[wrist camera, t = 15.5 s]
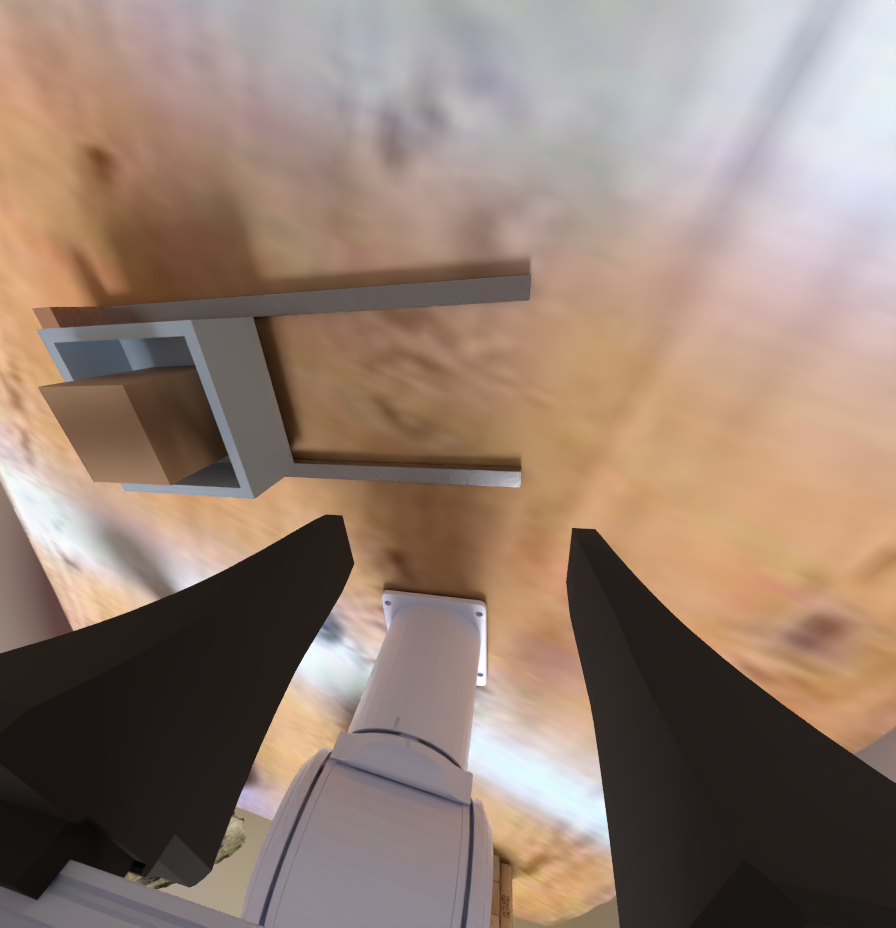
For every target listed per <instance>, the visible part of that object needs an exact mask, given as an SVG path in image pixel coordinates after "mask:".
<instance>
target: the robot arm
mask: <svg viewBox="0 0 896 928" xmlns="http://www.w3.org/2000/svg"><path fill="white" fill-rule="evenodd" d="M353 566H354V561H353V557H352V552H351V548H350V544H349V540H348V536H347V532H346V528H345V524H344V520H343V516H342V515H324V516H322V517H320V518H318V519H316V520H314V521H312V522H310V523H308V524H307V525H305V526H303V527H301V528H299V529H298V530H296V531H294V532H293V533H291V534H289V535H287V536H286V537H284V538H282V539H280V540H279V541H277V542H275V543H273V544H272V545H270V546H268V547H267V548H265V549H263V550H261V551H259V552H258V553H256V554H254V555H252V556H250V557H248V558H246V559H245V560H243V561H241V562H239V563H237V564H235V565H233V566H232V567H230V568H228V569H226V570H224V571H222V572H220V573H218V574H216V575H214V576H212V577H210V578H208V579H206V580H204V581H201V582H199V583H197V584H195V585H193V586H191V587H188V588H186V589H184V590H182V591H179V592H177V593H175V594H172V595H170V596H167V597H165V598H162V599H160V600H157V601H155V602H153V603H150V604H148V605H145V606H143V607H140V608H138V609H135V610H133V611H130V612H127V613H125V614H122V615H119V616H117V617H114V618H111V619H108V620H105V621H103V622H100V623H97V624H94V625H91V626H88V627H85V628H82V629H79V630H76V631H73V632H70V633H67V634H64V635H61V636H58V637H55V638H51V639H48V640H45V641H41V642H38V643H35V644H31V645H28V646H24V647H21V648H17V649H14V650H11V651H7V652H4V653H0V928H490V917H491V904H492V887H493V838H492V829H491V824H490V821H489V819H488V817H487V815H486V813H485V810H484V806H483V804H482V802H481V801H480V800H478V799H475V798H472V797H471V791H472V781H473V774H472V773H470V772H467V765H468V755H469V746H470V737H471V728H472V719H473V710H474V701H475V692H476V685H479V686H484V685H485V684H486V683H487V609H486V604H485V603H484V602H483V601H480V600H471V599H463V598H454V597H445V596H436V595H428V594H419V593H410V592H401V591H393V590H385V591H383V593H382V595H381V599H382V604H383V609H384V614H385V619H386V624H387V630H388V632H387V634H386V637H385V639H384V642H383V644H382V647H381V649H380V652H379V654H378V657H377V659H376V662H375V664H374V667H373V669H372V672H371V674H370V677H369V679H368V682H367V684H366V687H365V689H364V692H363V694H362V697H361V699H360V702H359V704H358V707H357V709H356V712H355V714H354V717H353V719H352V722H351V724H350V727H349V729H348V732H346V731H341V732H340V734H339V736H338V739H337V741H336V743H335V746H334V748H333V751H332V750H329V749H326V748H323V749H321V750H320V751H318V752H317V753H316V754H315V755H314V756H313V757H311V758H310V759H308V760H307V761H306V762H305V763H304V764H303V765H302V767H301V768H300V770H299V771H298V773H297V774H296V776H295V778H294V779H293V781H292V783H291V784H290V786H289V788H288V790H287V792H286V794H285V796H284V798H283V800H282V802H281V804H280V806H279V808H278V810H277V812H276V814H275V817H274V819H273V821H272V823H271V826H270V828H269V830H268V833H267V835H266V838H265V840H264V842H263V845H262V847H261V850H260V853H259V855H258V858H257V860H256V863H255V866H254V869H253V872H252V875H251V878H250V881H249V884H248V887H247V891H246V894H245V899H244V904H243V911H242V915H241V918H237V917H234V916H231V915H229V914H226V913H223V912H220V911H217V910H214V909H211V908H208V907H206V906H202V905H200V904H197V903H194V902H191V901H188V900H185V899H183V898H180V897H177V896H174V895H171V894H168V893H165V892H162V891H160V890H157V889H154V888H151V887H148V886H145V885H142V884H139V883H137V882H134V881H131V880H128V879H125V878H124V877H125V876H126V875H127V873H128V872H129V873H132V874H135V875H138V876H141V877H144V878H145V877H146V876H147V875H148V874H151V875H154V876H157V877H160V878H163V879H166V880H169V881H172V882H175V883H178V884H181V885H184V886H187V887H192V886H194V885H196V884H197V883H199V882H200V881H201V880H203V879H204V878H205V877H206V876H207V875H208V874H209V873H210V872H211V871H212V868H213V865H214V863H215V860H216V857H217V854H218V852H219V849H220V846H221V844H222V841H223V838H224V836H225V833H226V831H227V828H228V825H229V823H230V820H231V817H232V815H233V812H234V810H235V807H236V804H237V802H238V799H239V797H240V794H241V792H242V789H243V787H244V784H245V782H246V780H247V777H248V775H249V772H250V770H251V768H252V765H253V763H254V760H255V758H256V756H257V753H258V751H259V748H260V746H261V744H262V742H263V739H264V737H265V735H266V733H267V731H268V728H269V726H270V724H271V722H272V720H273V717H274V715H275V713H276V711H277V708H278V706H279V704H280V702H281V700H282V698H283V696H284V694H285V692H286V690H287V688H288V686H289V684H290V681H291V679H292V677H293V675H294V673H295V671H296V670H297V668H298V666H299V664H300V662H301V660H302V659H303V657H304V655H305V654H306V652H307V650H308V649H309V647H310V645H311V644H312V642H313V640H314V639H315V637H316V635H317V634H318V632H319V630H320V629H321V627H322V625H323V624H324V622H325V620H326V619H327V617H328V615H329V614H330V612H331V610H332V609H333V607H334V605H335V603H336V602H337V600H338V598H339V597H340V595H341V593H342V591H343V589H344V587H345V585H346V582H347V580H348V578H349V575H350V573H351V570H352V568H353ZM566 584H567V593H568V602H569V611H570V618H571V622H572V627H573V631H574V635H575V640H576V644H577V648H578V653H579V657H580V661H581V666H582V670H583V674H584V679H585V683H586V687H587V692H588V696H589V700H590V705H591V710H592V716H593V721H594V728H595V735H596V742H597V749H598V756H599V763H600V770H601V777H602V785H603V792H604V800H605V807H606V815H607V822H608V830H609V839H610V847H611V855H612V863H613V871H614V880H615V888H616V896H617V905H618V914H619V923H620V928H896V783H894V782H893V781H891V780H890V779H888V778H887V777H885V776H884V775H882V774H881V773H879V772H877V771H876V770H875V769H873V768H872V767H870V766H869V765H867V764H866V763H865V762H863V761H862V760H860V759H859V758H857V757H856V756H855V755H853V754H852V753H850V752H849V751H847V750H846V749H844V748H843V747H842V746H840V745H839V744H837V743H836V742H834V741H833V740H831V739H830V738H829V737H827V736H826V735H824V734H823V733H821V732H820V731H818V730H817V729H816V728H814V727H813V726H812V725H810V724H809V723H807V722H806V721H805V720H803V719H802V718H801V717H799V716H798V715H796V714H795V713H794V712H792V711H791V710H789V709H788V708H787V707H785V706H784V705H783V704H781V703H780V702H779V701H777V700H776V699H775V698H774V697H772V696H771V695H770V694H768V693H767V692H766V691H764V690H763V689H762V688H760V687H759V686H758V685H757V684H755V683H754V682H753V681H751V680H750V679H749V678H747V677H746V676H745V675H743V674H742V673H741V672H740V671H738V670H737V669H736V668H735V667H734V666H732V665H731V664H730V663H729V662H727V661H726V660H725V659H724V658H722V657H721V656H720V655H719V654H718V653H716V652H715V651H714V650H713V649H712V648H711V647H709V646H708V645H707V644H706V643H705V642H704V641H702V640H701V639H700V638H699V637H698V636H697V635H695V634H694V633H693V632H692V631H691V630H690V629H689V628H688V627H686V626H685V625H684V624H683V623H682V622H681V621H680V620H679V619H678V618H677V617H676V616H675V615H674V614H673V613H671V612H670V611H669V610H668V609H667V608H666V607H665V606H664V605H663V604H662V603H661V602H660V601H659V600H658V599H657V598H656V597H655V596H654V595H653V594H652V593H651V592H650V591H649V590H648V588H647V587H646V586H645V585H644V584H643V583H642V582H641V581H640V580H639V579H638V578H637V577H636V576H635V575H634V573H633V572H632V571H631V570H630V569H629V568H628V567H627V566H626V565H625V563H624V562H623V561H622V560H621V559H620V558H619V557H618V555H617V554H616V553H615V552H614V551H613V550H612V548H611V547H610V546H609V545H608V544H607V542H606V541H605V540H604V539H603V538H602V536H601V535H600V534H599V533H598V532H597V531H596V530H595V529H580V528H572V535H571V544H570V553H569V562H568V571H567V580H566Z"/></svg>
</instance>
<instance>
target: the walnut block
mask: <svg viewBox="0 0 896 928" xmlns="http://www.w3.org/2000/svg"><path fill="white" fill-rule="evenodd" d="M38 388H39V390H40V391H41V393H42V395H43V397H44V398H45V400H46V402H47V403H48V405H49V407H50V408H51V410H52V412H53V414H54V415H55V417H56V419H57V420H58V422H59V424H60V425H61V427H62V429H63V430H64V432H65V434H66V436H67V437H68V439H69V441H70V442H71V444H72V446H73V447H74V449H75V451H76V452H77V454H78V456H79V458H80V459H81V461H82V463H83V464H84V466H85V468H86V469H87V471H88V473H89V474H90V476H91V478H92V480H93V481H94V482H112V483H132V484H151V485H172V484H174V483H176V482H178V481H180V480H182V479H184V478H186V477H188V476H190V475H192V474H194V473H195V472H197V471H199V470H201V469H203V468H205V467H207V466H209V465H211V464H213V463H215V462H217V461H218V460H220V459H222V458H224V457H226V456H228V452H227V450H226V447H225V444H224V441H223V439H222V436H221V433H220V431H219V428H218V425H217V423H216V420H215V417H214V415H213V412H212V409H211V406H210V404H209V401H208V398H207V396H206V393H205V390H204V388H203V385H202V382H201V380H200V377H199V374H198V371H197V369H196V366H195V365H193V366H165V367H151V368H145V369H139V370H134V371H128V372H122V373H116V374H110V375H105V376H99V377H93V378H87V379H82V380H76V381H70V382H64V383H58V384H53V385H47V386H41V387H38Z"/></svg>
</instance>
